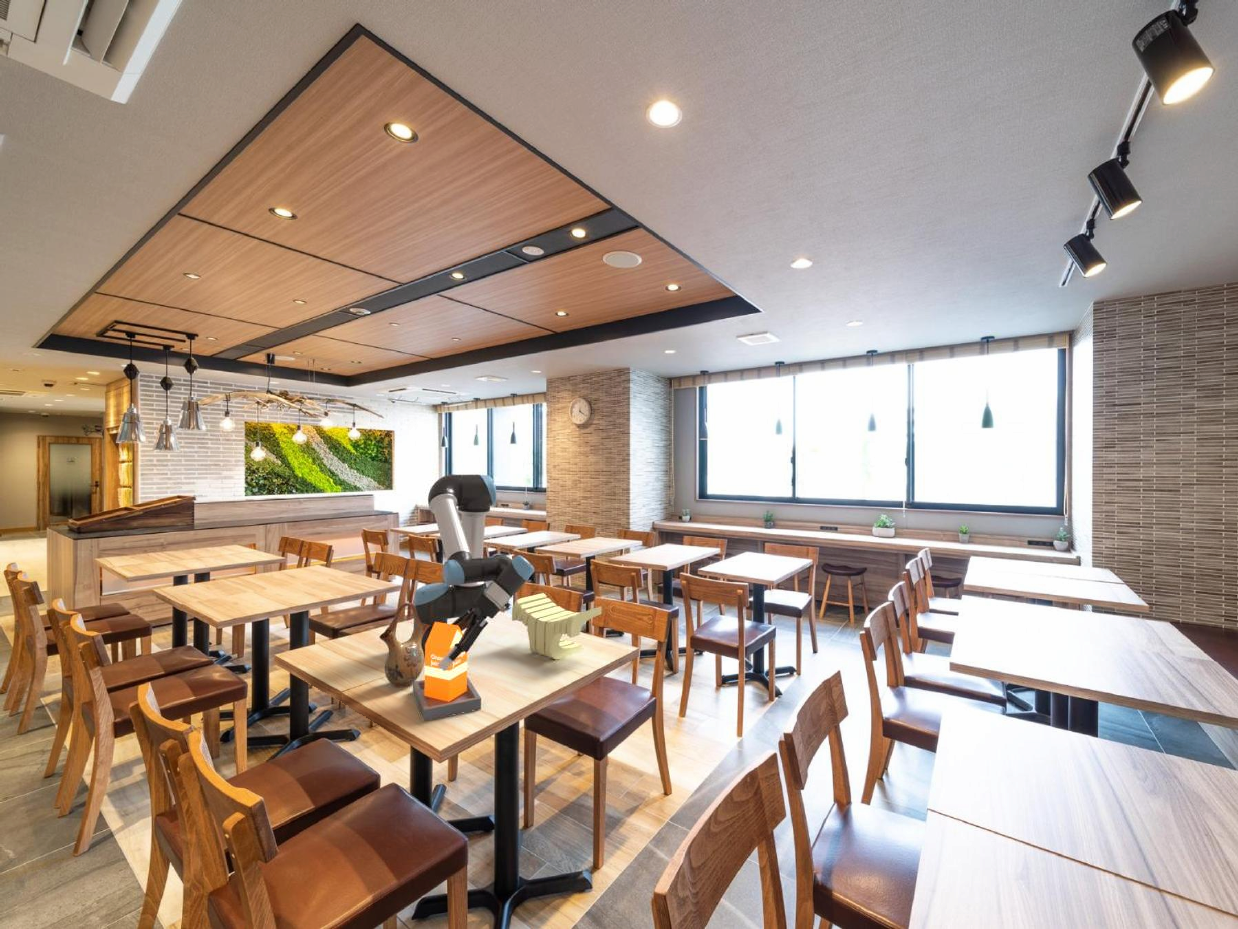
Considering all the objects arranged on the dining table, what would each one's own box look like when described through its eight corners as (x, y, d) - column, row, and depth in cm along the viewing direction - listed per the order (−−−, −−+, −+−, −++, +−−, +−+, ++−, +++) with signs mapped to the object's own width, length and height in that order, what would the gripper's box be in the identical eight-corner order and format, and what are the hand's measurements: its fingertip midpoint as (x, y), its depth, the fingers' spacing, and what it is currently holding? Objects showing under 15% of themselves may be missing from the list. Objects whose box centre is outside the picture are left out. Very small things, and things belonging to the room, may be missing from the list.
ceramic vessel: (388, 697, 146) (390, 610, 147) (370, 689, 151) (372, 605, 152) (436, 679, 160) (438, 599, 160) (418, 672, 165) (420, 595, 165)
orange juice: (443, 685, 151) (444, 618, 151) (467, 690, 148) (468, 622, 148) (423, 696, 144) (424, 625, 144) (448, 702, 140) (449, 630, 140)
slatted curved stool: (511, 648, 189) (512, 600, 189) (542, 637, 202) (543, 592, 202) (570, 668, 171) (571, 615, 171) (600, 655, 183) (601, 606, 184)
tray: (412, 692, 150) (413, 682, 150) (464, 682, 158) (464, 672, 158) (423, 721, 133) (423, 710, 133) (480, 709, 140) (481, 698, 141)
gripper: (512, 618, 143) (455, 684, 135) (489, 599, 164) (438, 655, 156) (494, 602, 141) (434, 667, 133) (473, 584, 161) (420, 640, 153)
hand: (436, 661), depth 144 cm, fingers closed on orange juice, 11 cm apart
